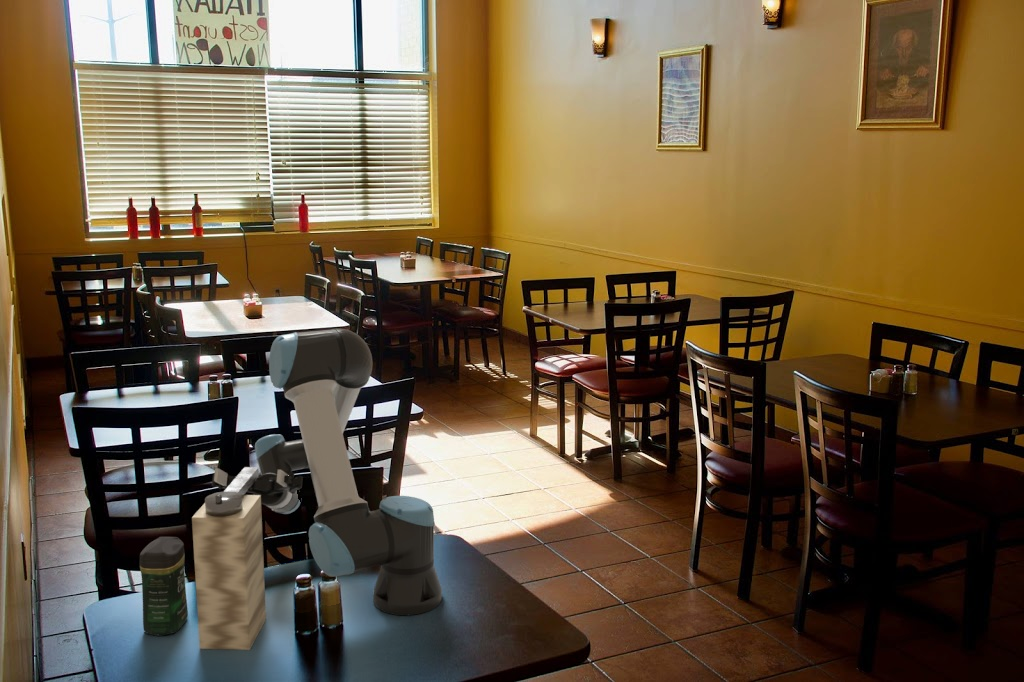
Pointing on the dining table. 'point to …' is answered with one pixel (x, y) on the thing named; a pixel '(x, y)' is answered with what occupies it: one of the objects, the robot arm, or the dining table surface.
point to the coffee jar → (163, 586)
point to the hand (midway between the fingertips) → (247, 475)
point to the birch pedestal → (229, 576)
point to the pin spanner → (231, 494)
